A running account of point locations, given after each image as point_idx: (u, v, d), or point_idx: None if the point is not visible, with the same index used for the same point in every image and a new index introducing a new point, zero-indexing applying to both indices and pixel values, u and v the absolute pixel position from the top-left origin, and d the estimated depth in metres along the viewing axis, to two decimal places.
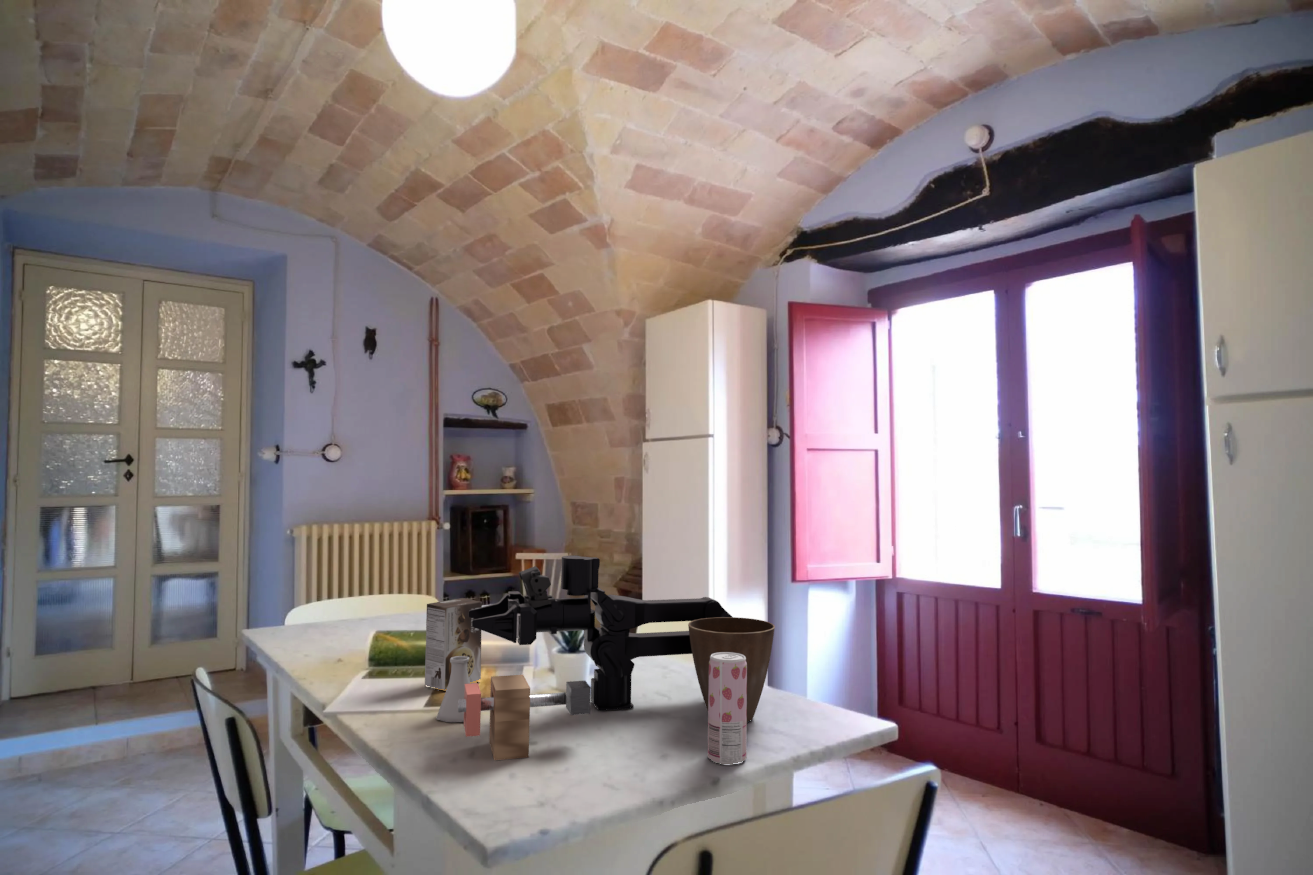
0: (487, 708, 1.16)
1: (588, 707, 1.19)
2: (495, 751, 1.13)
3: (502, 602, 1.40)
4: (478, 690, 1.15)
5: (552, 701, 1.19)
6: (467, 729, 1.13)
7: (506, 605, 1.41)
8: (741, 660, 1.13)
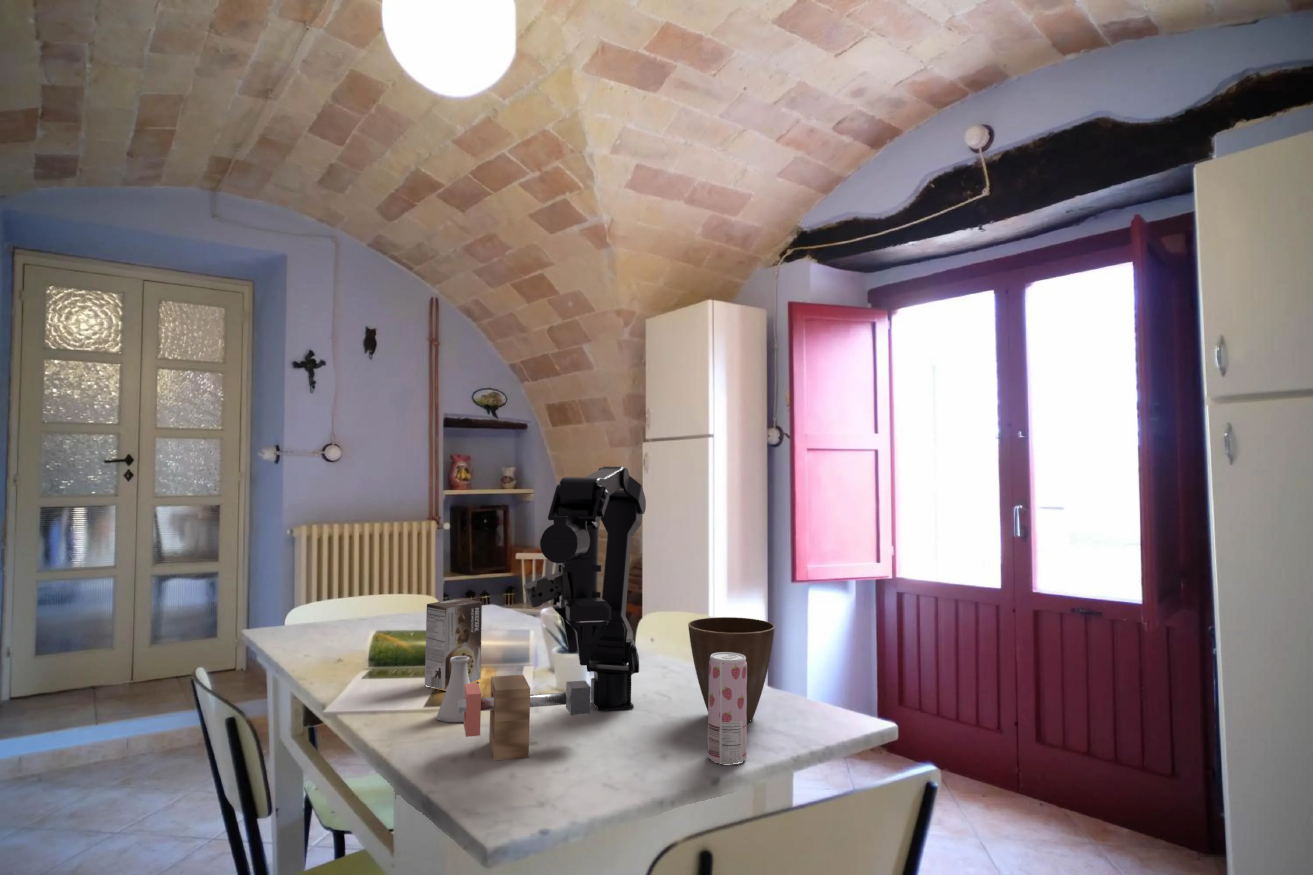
0: (487, 708, 1.16)
1: (588, 707, 1.19)
2: (495, 751, 1.13)
3: (562, 614, 1.26)
4: (478, 690, 1.15)
5: (552, 701, 1.19)
6: (467, 729, 1.13)
7: (565, 609, 1.26)
8: (741, 660, 1.13)
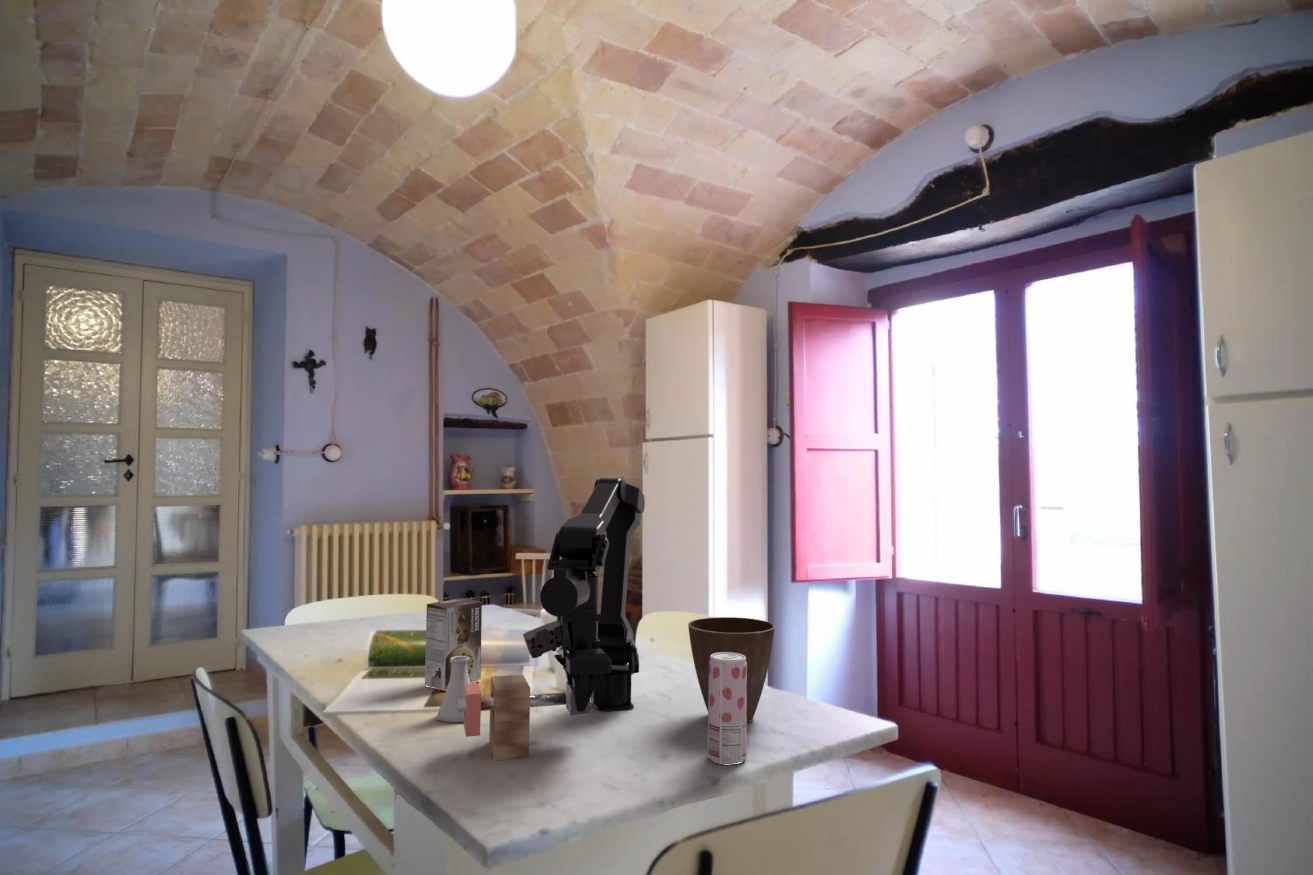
0: (487, 708, 1.16)
1: (588, 707, 1.19)
2: (495, 751, 1.13)
3: (564, 665, 1.23)
4: (478, 690, 1.15)
5: (552, 701, 1.19)
6: (467, 729, 1.13)
7: None
8: (741, 660, 1.13)
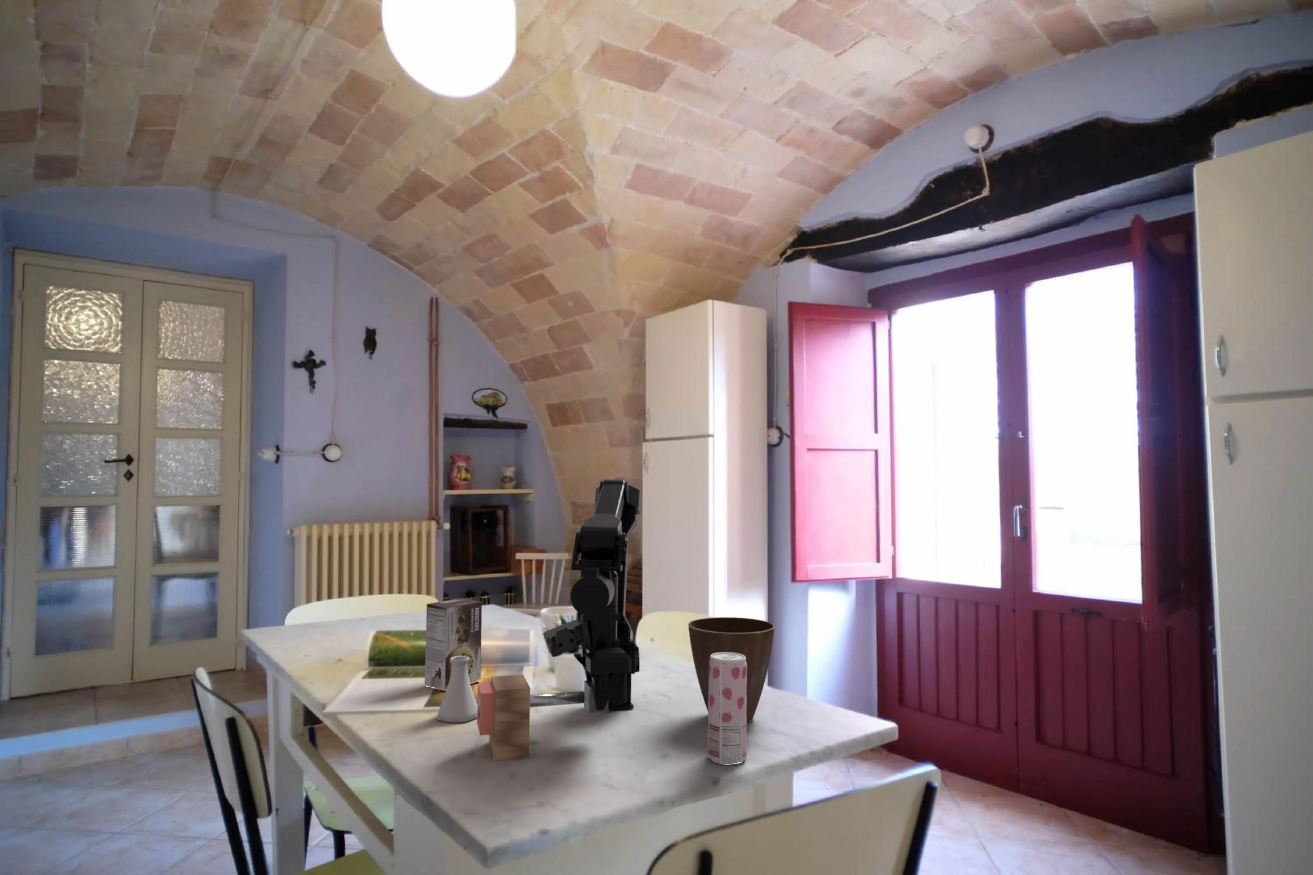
0: None
1: (606, 706, 1.20)
2: (495, 751, 1.13)
3: (584, 664, 1.24)
4: (492, 689, 1.16)
5: (570, 700, 1.19)
6: (481, 728, 1.13)
7: None
8: (741, 660, 1.13)
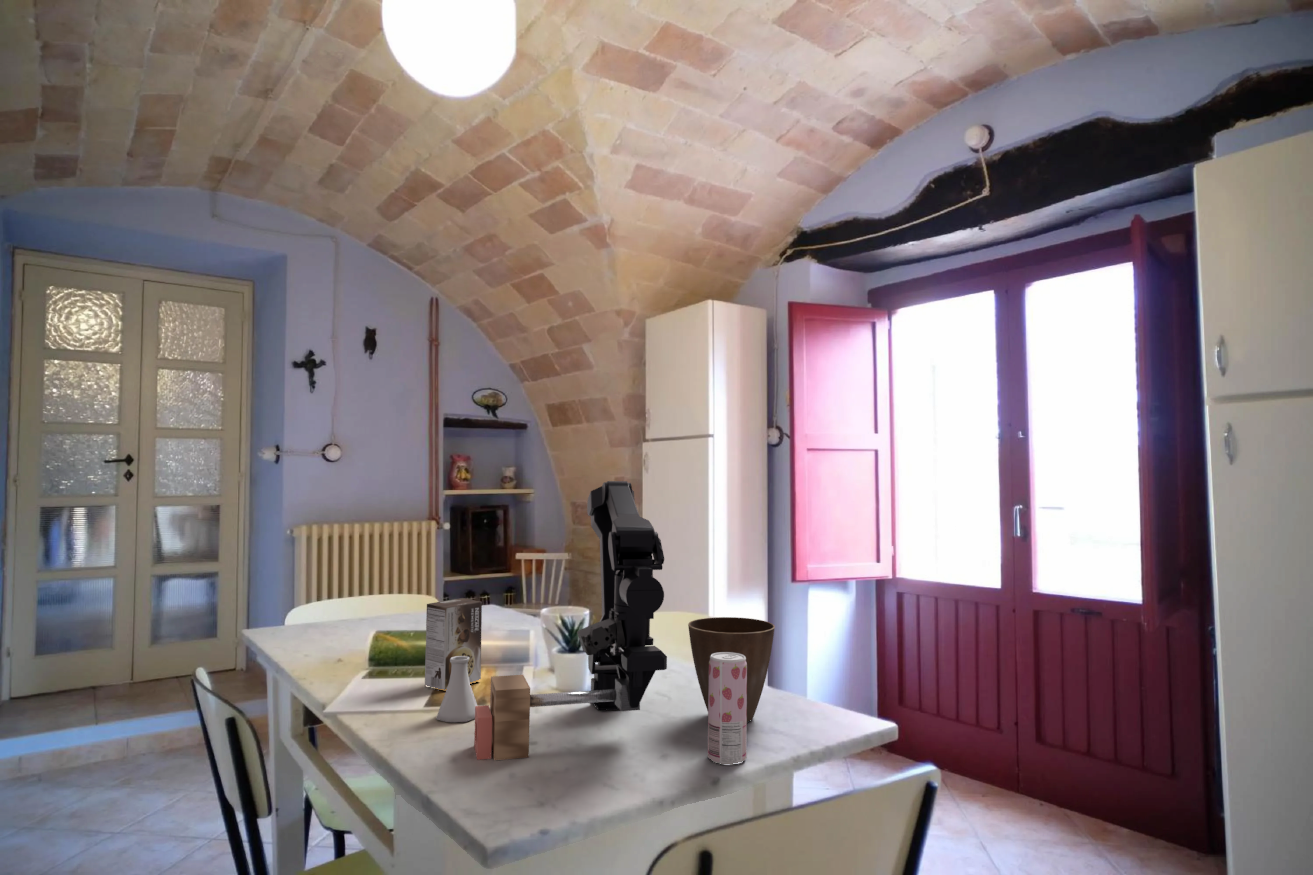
0: (540, 704, 1.18)
1: None
2: (495, 751, 1.13)
3: (616, 662, 1.25)
4: (489, 713, 1.15)
5: (603, 698, 1.21)
6: (478, 752, 1.13)
7: (620, 657, 1.26)
8: (741, 660, 1.13)
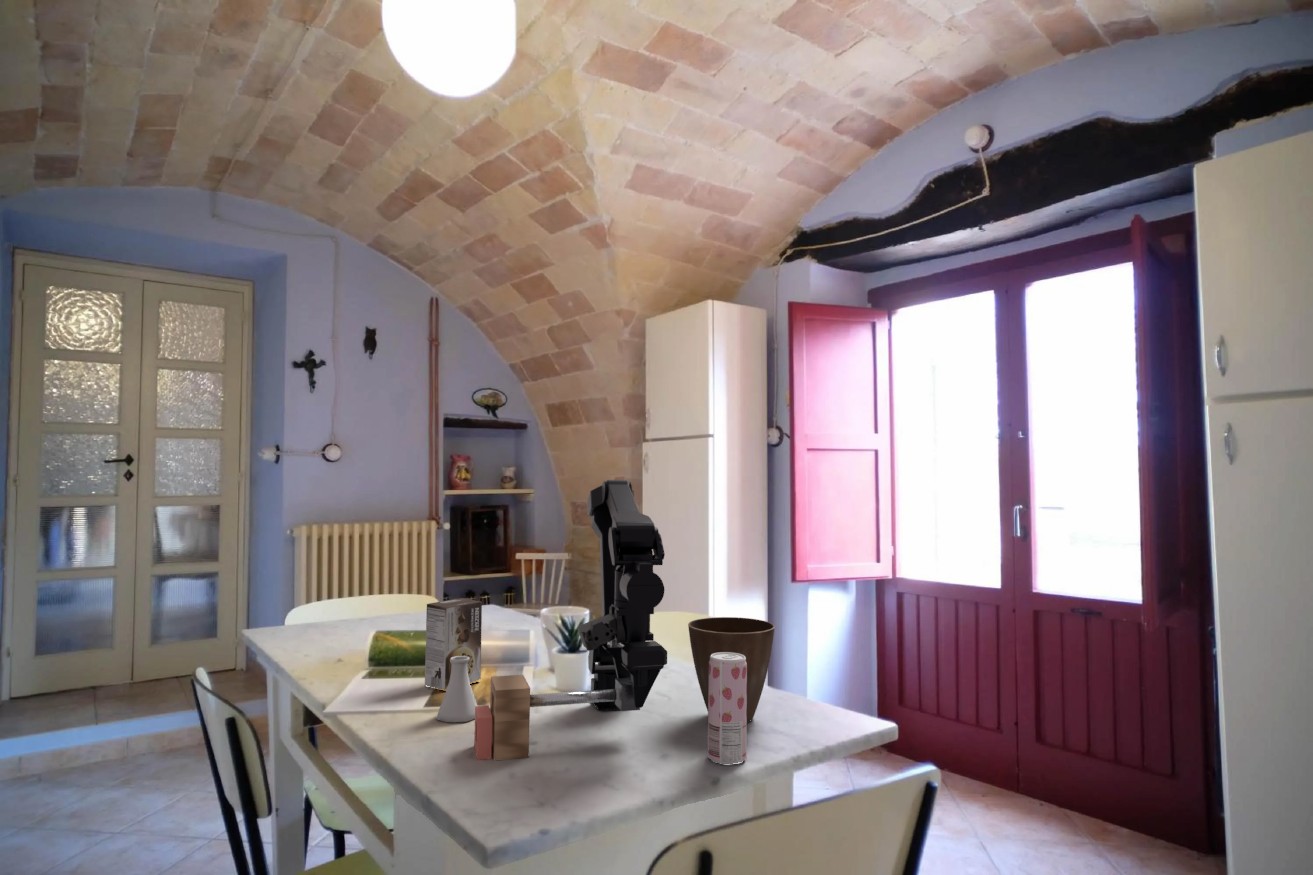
0: (540, 704, 1.18)
1: None
2: (495, 751, 1.13)
3: (613, 654, 1.28)
4: (489, 713, 1.15)
5: (603, 698, 1.21)
6: (478, 752, 1.13)
7: (616, 649, 1.28)
8: (741, 660, 1.13)
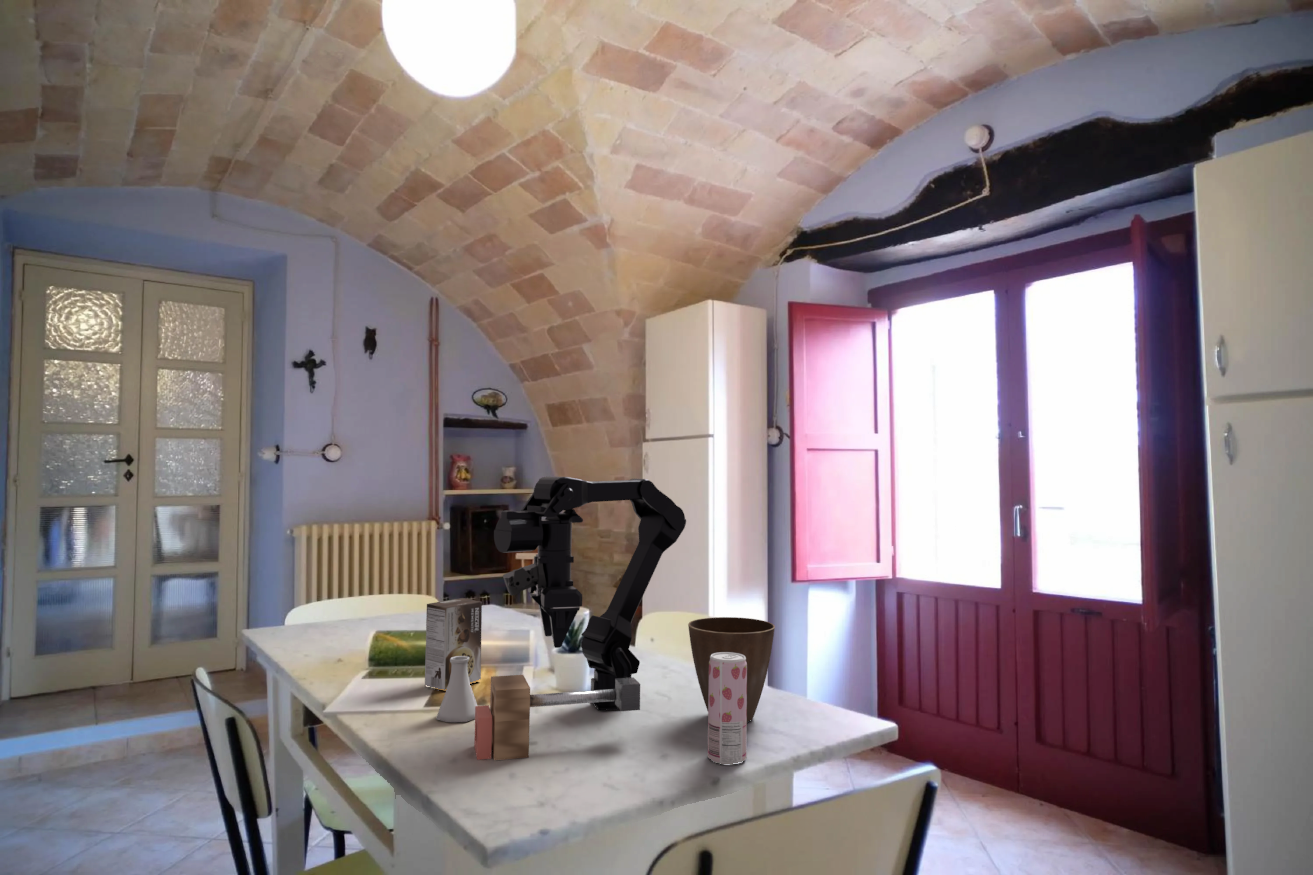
0: (540, 704, 1.18)
1: (638, 703, 1.21)
2: (495, 751, 1.13)
3: (538, 602, 1.37)
4: (489, 713, 1.15)
5: (603, 698, 1.21)
6: (478, 752, 1.13)
7: None
8: (741, 660, 1.13)
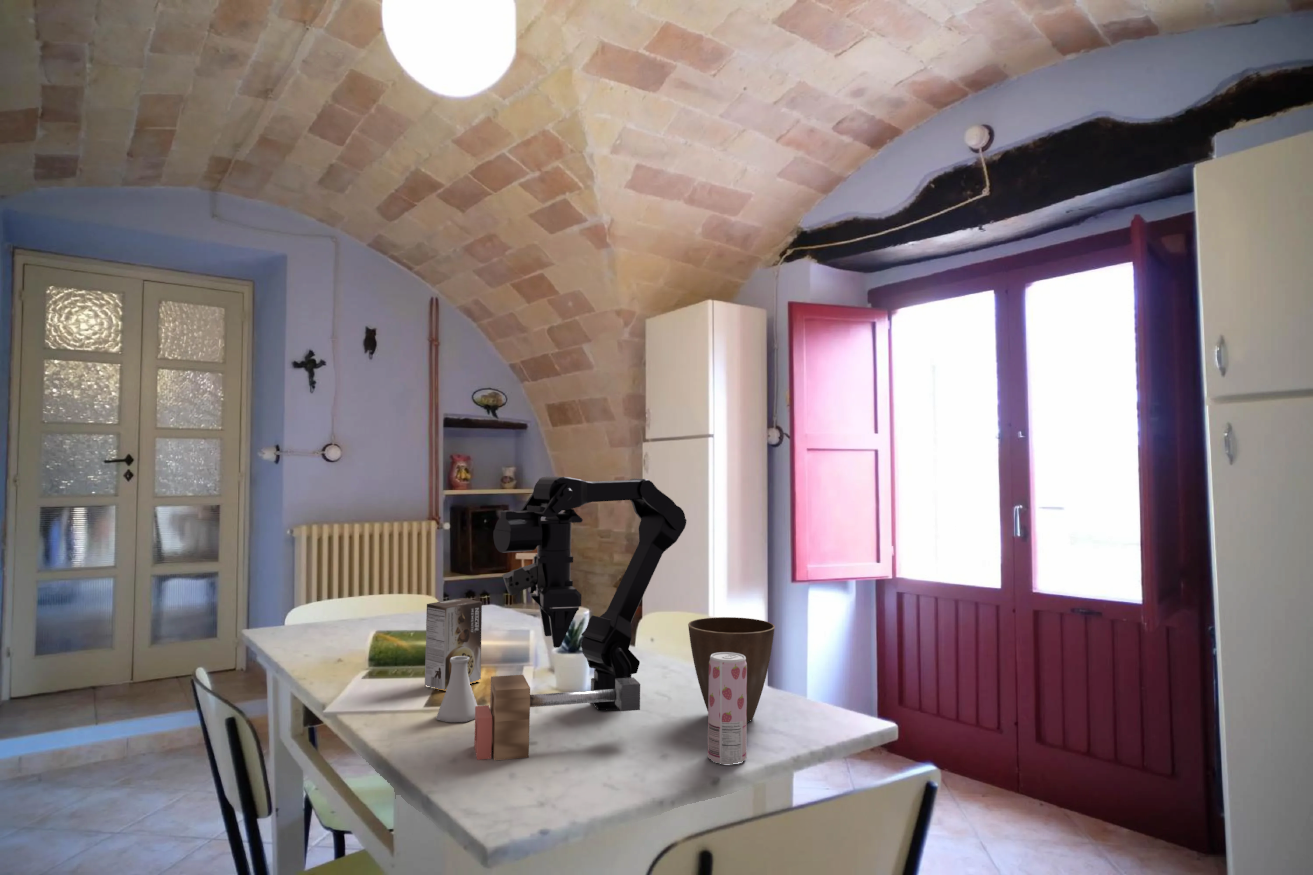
0: (540, 704, 1.18)
1: (638, 703, 1.21)
2: (495, 751, 1.13)
3: (538, 602, 1.37)
4: (489, 713, 1.15)
5: (603, 698, 1.21)
6: (478, 752, 1.13)
7: None
8: (741, 660, 1.13)
